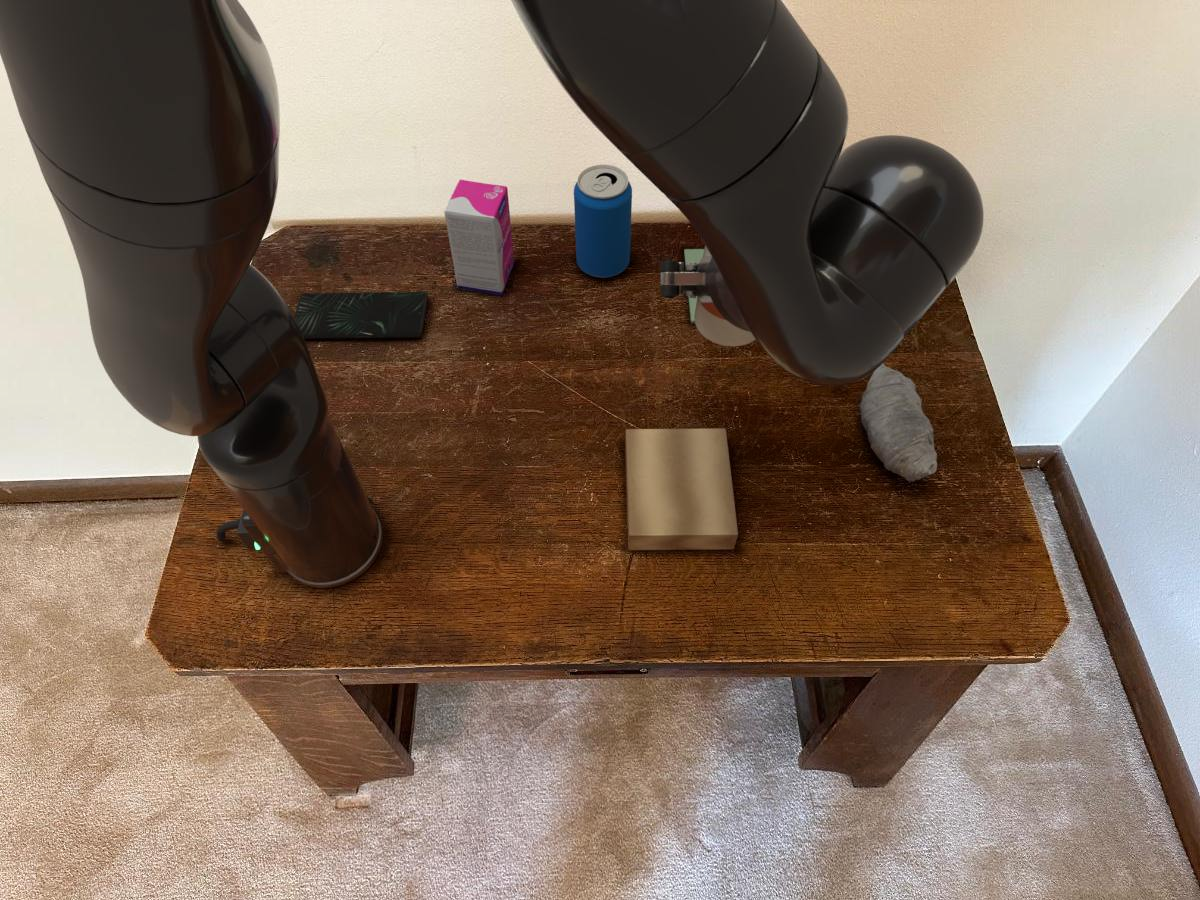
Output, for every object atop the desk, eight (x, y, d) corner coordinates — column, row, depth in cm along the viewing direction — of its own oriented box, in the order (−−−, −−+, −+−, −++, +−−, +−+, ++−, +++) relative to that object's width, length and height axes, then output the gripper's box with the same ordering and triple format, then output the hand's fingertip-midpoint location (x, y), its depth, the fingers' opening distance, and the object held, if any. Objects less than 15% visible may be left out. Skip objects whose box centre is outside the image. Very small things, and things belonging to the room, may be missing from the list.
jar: (691, 295, 70) (696, 347, 67) (705, 193, 61) (712, 247, 58) (760, 294, 70) (769, 346, 67) (784, 193, 61) (795, 246, 58)
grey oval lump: (909, 360, 84) (925, 336, 77) (931, 486, 82) (950, 474, 74) (847, 368, 85) (857, 345, 78) (867, 493, 83) (879, 482, 75)
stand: (628, 550, 75) (629, 535, 73) (624, 445, 82) (625, 428, 79) (734, 549, 75) (738, 534, 73) (722, 445, 82) (725, 427, 79)
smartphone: (300, 292, 93) (428, 290, 93) (303, 298, 94) (429, 296, 94) (287, 336, 89) (420, 334, 89) (290, 342, 90) (422, 340, 90)
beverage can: (639, 257, 98) (643, 174, 88) (611, 289, 95) (612, 207, 85) (594, 238, 100) (593, 155, 90) (566, 269, 96) (561, 186, 87)
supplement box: (504, 296, 94) (493, 218, 84) (456, 289, 95) (440, 211, 85) (517, 262, 97) (507, 184, 88) (470, 256, 98) (456, 177, 88)
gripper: (661, 335, 51) (646, 327, 68) (885, 335, 51) (816, 326, 67) (662, 214, 50) (647, 235, 66) (893, 213, 50) (820, 235, 66)
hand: (733, 281), depth 67 cm, fingers closed on jar, 6 cm apart
